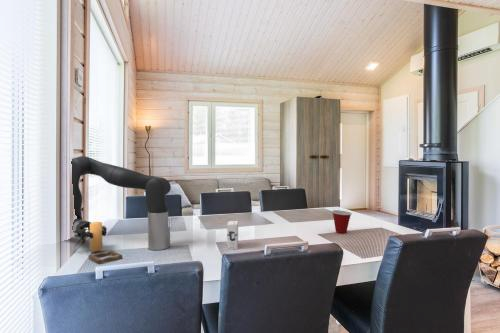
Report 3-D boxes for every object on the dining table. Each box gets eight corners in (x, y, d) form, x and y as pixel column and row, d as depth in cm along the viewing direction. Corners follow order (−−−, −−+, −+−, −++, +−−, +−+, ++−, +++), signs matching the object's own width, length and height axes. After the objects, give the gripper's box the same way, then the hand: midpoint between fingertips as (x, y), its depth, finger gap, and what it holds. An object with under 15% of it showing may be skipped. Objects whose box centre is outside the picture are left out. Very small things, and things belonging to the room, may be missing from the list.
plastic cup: (351, 235, 175) (351, 213, 174) (331, 234, 178) (331, 212, 178) (351, 231, 185) (352, 210, 184) (332, 229, 188) (332, 209, 188)
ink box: (228, 244, 158) (228, 220, 158) (238, 244, 158) (238, 220, 158) (226, 249, 150) (226, 224, 149) (237, 249, 150) (237, 224, 149)
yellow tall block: (99, 247, 148) (99, 221, 148) (104, 249, 145) (103, 223, 144) (88, 249, 145) (87, 223, 144) (93, 251, 141) (92, 225, 141)
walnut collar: (111, 253, 143) (111, 250, 143) (122, 258, 137) (122, 254, 137) (88, 258, 136) (88, 255, 136) (98, 264, 129) (98, 260, 129)
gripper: (67, 223, 149) (81, 229, 137) (98, 218, 159) (114, 223, 148) (67, 239, 149) (81, 246, 138) (99, 233, 160) (114, 239, 148)
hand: (98, 234), depth 143 cm, fingers closed on yellow tall block, 5 cm apart
